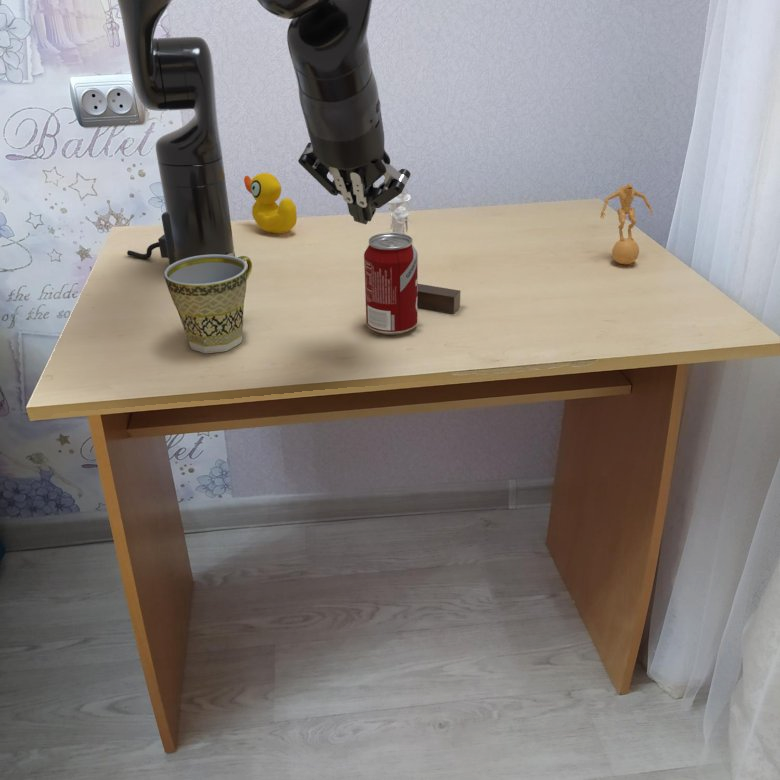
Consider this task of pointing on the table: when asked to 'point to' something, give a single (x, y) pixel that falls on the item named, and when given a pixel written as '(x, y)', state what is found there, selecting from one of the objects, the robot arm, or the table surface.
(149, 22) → the robot arm
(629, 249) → the figurine
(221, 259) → the ceramic cup
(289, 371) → the table surface
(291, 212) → the duckling
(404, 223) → the hat wearing toy figure
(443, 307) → the rail
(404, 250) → the soda can
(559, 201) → the table surface
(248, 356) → the table surface
